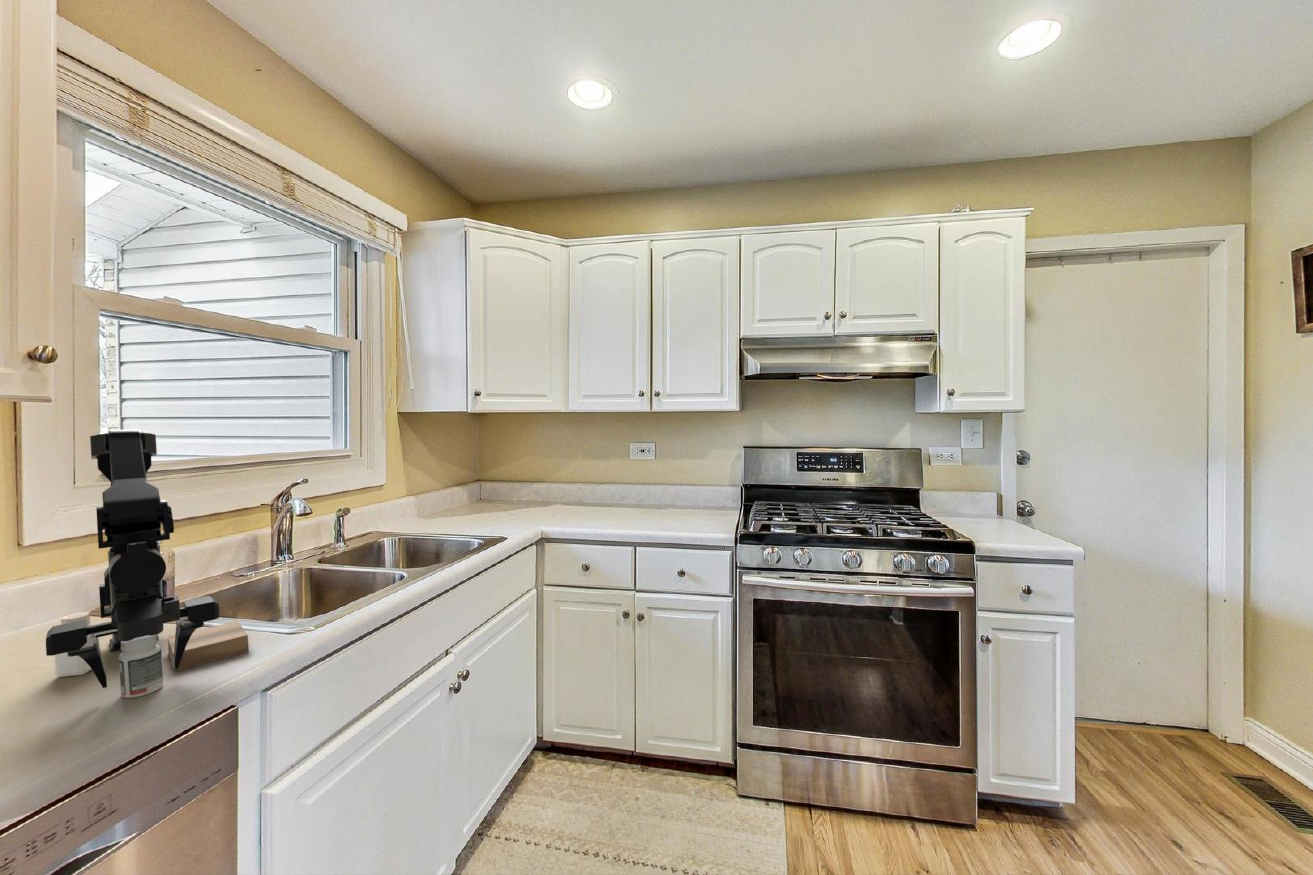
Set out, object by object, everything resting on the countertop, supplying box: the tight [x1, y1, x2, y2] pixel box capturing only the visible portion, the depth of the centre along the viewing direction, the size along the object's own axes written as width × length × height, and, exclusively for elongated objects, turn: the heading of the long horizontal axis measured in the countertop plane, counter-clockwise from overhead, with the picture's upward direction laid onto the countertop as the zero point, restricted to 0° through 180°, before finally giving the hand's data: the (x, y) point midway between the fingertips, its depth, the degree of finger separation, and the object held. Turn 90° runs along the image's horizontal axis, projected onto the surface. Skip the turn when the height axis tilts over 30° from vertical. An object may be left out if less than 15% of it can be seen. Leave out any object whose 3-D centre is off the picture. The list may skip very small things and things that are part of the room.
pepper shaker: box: [54, 612, 100, 678], centre depth 90 cm, size 4×4×10 cm
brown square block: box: [167, 620, 250, 672], centre depth 96 cm, size 10×10×3 cm
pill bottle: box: [118, 635, 164, 699], centre depth 83 cm, size 5×5×8 cm
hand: (141, 677), depth 83 cm, fingers open, 8 cm apart
